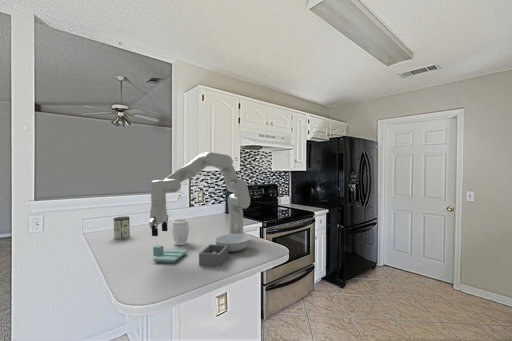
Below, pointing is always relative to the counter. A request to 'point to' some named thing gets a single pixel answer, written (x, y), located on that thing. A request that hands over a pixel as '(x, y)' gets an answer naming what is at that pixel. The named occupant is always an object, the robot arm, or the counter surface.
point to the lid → (167, 254)
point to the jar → (180, 231)
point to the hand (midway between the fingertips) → (160, 233)
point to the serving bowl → (233, 241)
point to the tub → (213, 255)
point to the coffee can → (121, 227)
